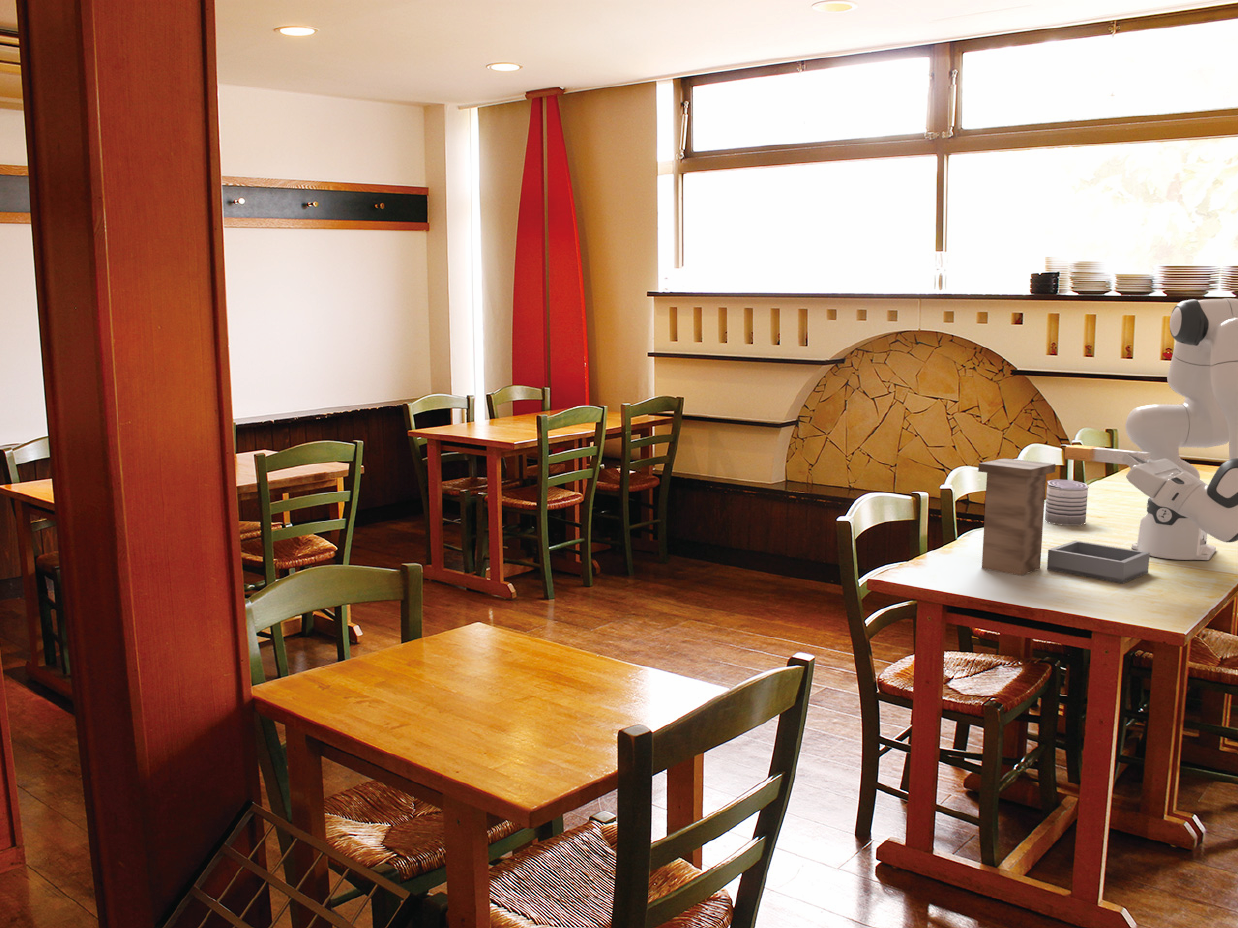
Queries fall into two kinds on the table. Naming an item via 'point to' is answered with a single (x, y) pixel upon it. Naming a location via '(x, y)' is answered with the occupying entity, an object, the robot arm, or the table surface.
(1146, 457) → the white and tan bar
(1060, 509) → the can
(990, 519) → the post
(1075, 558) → the tray
